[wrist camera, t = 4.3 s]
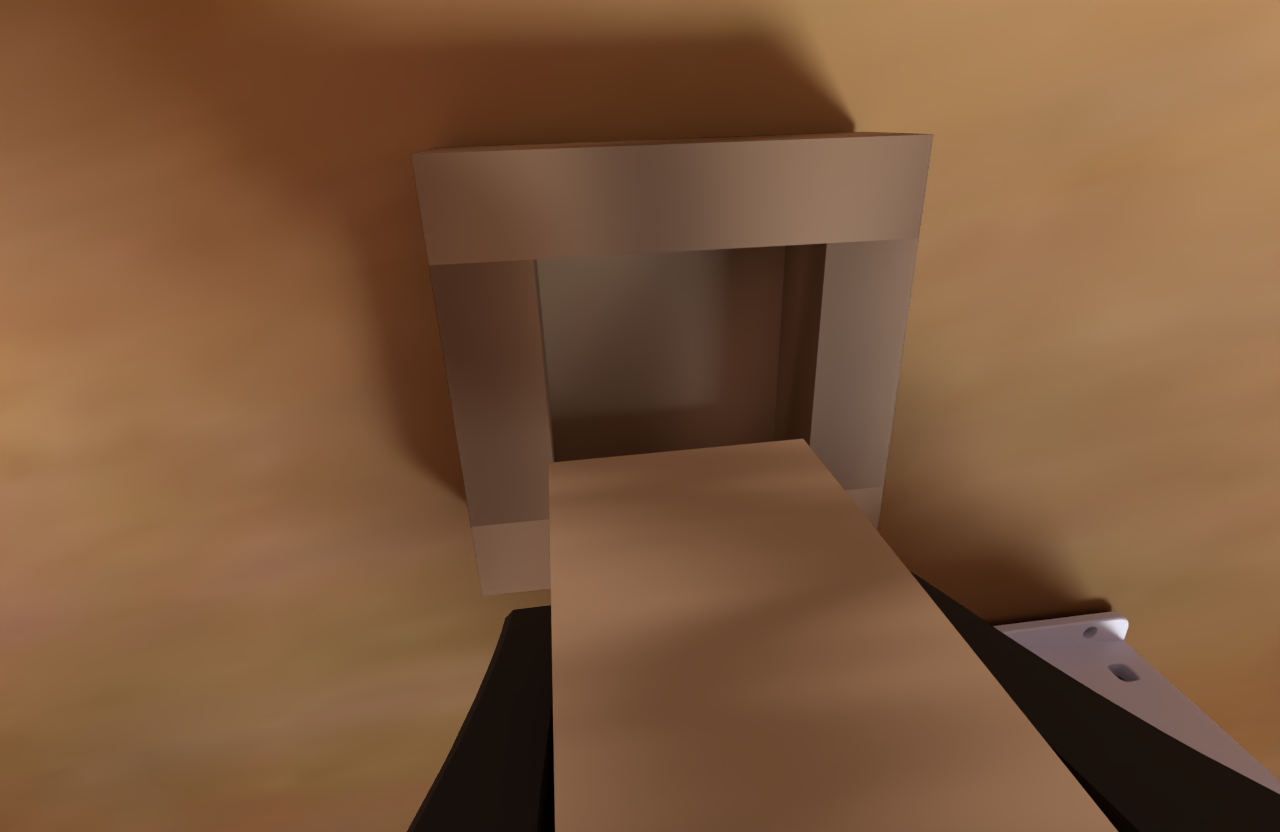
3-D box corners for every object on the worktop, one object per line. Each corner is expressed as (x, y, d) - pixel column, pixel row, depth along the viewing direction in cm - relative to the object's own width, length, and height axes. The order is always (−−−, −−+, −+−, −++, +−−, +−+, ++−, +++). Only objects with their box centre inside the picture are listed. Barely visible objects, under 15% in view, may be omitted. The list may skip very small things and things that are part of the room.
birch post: (803, 438, 10) (1202, 935, 4) (788, 633, 12) (1054, 1196, 6) (548, 462, 10) (559, 1060, 4) (569, 660, 12) (601, 1302, 5)
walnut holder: (865, 131, 16) (933, 134, 13) (829, 493, 20) (874, 553, 17) (435, 148, 15) (410, 153, 12) (491, 527, 19) (482, 595, 16)
